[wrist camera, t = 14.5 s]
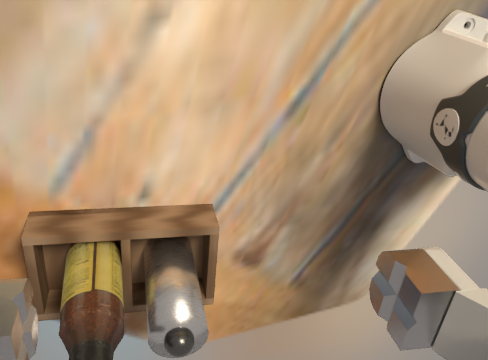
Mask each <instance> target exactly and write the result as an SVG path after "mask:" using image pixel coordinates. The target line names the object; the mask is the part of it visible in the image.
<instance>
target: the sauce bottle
mask: <svg viewBox="0 0 488 360" xmlns="http://www.w3.org/2000/svg"><path fill="white" fill-rule="evenodd" d="M123 314H124V299H123V279H122V257H121V252H120V250H119V247H118V244H117V242H116V241H98V242H81V243H71V245H70V247H69V249H68V253H67V256H66V261H65V272H64V280H63V290H62V299H61V309H60V331H59V336H60V338H61V339H62V341H63V343H64V345H65V347H66V349H67V351H68V354H69V360H113V352H114V351H115V349H116V347H117V345H118V344H119V342H120V341H121V339H122V338H123V335H124V318H123Z"/></svg>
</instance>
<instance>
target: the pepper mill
mask: <svg viewBox="0 0 488 360" xmlns="http://www.w3.org/2000/svg"><path fill="white" fill-rule="evenodd" d="M144 271H145V290H146V308H147V327H148V343H149V346H150V348H151V349H152V351H153V352H155V353H156V354H158V355H160V356H163V357H167V358H179V357H184V356H187V355H190V354H192V353H194V352H196V351H197V350H198V349H200V348H201V347H202V346H203V345H204V344H205V342H206V340H207V338H208V327H207V322H206V317H205V312H204V307H203V302H202V297H201V292H200V287H199V282H198V276H197V271H196V266H195V261H194V256H193V251H192V246H191V243H190V241H189V239H188V238H187V237H186V236H182V237H165V238H150V239H149V240H148V241H147V242H146V244H145V246H144Z"/></svg>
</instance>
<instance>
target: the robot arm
mask: <svg viewBox="0 0 488 360" xmlns="http://www.w3.org/2000/svg"><path fill="white" fill-rule="evenodd" d="M466 22H467V25H466V26H465V27H464V24H465V23H466ZM380 112H381V117H382V121H383V124H384V126H385V128H386V129H387V131H388V132H389V133H390V134H391V135H392V136H393V137H394V138H395V139H396V140H397V141H399V142H400V143H401V144H402V146H403V149H404V152H405V154H406V156H407V158H408V159H409V160H411V161H412V162H414V163H421V162H427V163H428V164H430V165H431V166H433V167H434V168H436V169H437V170H439V171H441V172H442V173H444V174H445V175H447V176H450V177H454V176H455V175H458V176H459V177H460V178H461V179H462V180H464V181H466V182H467V183H470V184H471V185H473V186H475V187H476V188H479V189H481V190H485V191H488V19H486V18H483V17H480V16H477V15H474V14H471V13H468V12H465V11H462V10H455V11H453V12H452V13H450V14H449V15H448V16H447V17H446V18H445V19H444V20H443V21H442V23H441V24H440V25H439V26H438V27H437V28H436V30H435V31H433V32H432V33H431V34H429V35H428V36H426V37H424V38H423V39H421V40H419V41H418V42H416V43H415V44H413V45H412V46H411V47H410V48H409V49H407V50H406V51H405V52H404V53H403V54H402V55H401V56H400V58H399V59H398V60H397V61H396V63H395V64H394V65H393V67H392V69H391V70H390V72H389V74H388V76H387V78H386V80H385V83H384V86H383V89H382V93H381V99H380ZM376 265H377V267H378V269H379V272H378V273H377V274H376V275H375V276H374V277H373V278H372V280H371V284H370V288H369V290H370V299H371V303H372V305H373V308H374V310H375V311H376V313H377V315H378V316H380V317H382V318H383V319H385V320H386V321H388V325H387V330H388V332H389V333H390V335H391V337H392V338H393V340H394V341H395V343H396V344H397V346H398V347H399V349H400V350H411V349H420V348H430V347H432V350H434V351H435V352H436V353H438V354H439V355H440V356H442V357H443V358H444V359H446V360H488V289H486V288H484V289H480V288H479V287H478V286H477V285H476V284H475V283H474V282H473V281H472V280H471V279H470V278H469V277H468V276H467V275H466V274H465V273H464V272H463V271H462V270H461V269H460V268H459V266H458V265H457V264H456V263H455V262H454V261H453V260H452V259H451V258H450V257H449V256H448V255H447V254H446V253H445V252H444V251H443V250H442V249H440V248H438V247H428V248H418V249H409V250H397V251H385V252H382V253H381V254H380V255H379V257H378V260H377V263H376ZM32 296H33V288H32V284H31V280H30V279H29V278H22V279H4V280H0V360H29V359H30V358H31V357H32V356H33V355H34V354H35V351H36V346H37V339H38V338H37V337H38V316H37V310H36V308H35V307H34V306H32V305H31V301H32Z"/></svg>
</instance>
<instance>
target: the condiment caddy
mask: <svg viewBox="0 0 488 360" xmlns="http://www.w3.org/2000/svg"><path fill="white" fill-rule="evenodd" d="M182 236H186V237H187V238H188V239H189V241H190V243H191V246H192V251H193V256H194V261H195V266H196V271H197V276H198V282H199V287H200V292H201V297H202V302H203V305H210V304H213V302H214V289H215V276H216V263H217V250H218V238H219V225H218V221H217V218H216V215H215V211H214V208H213V205H212V204H201V205H178V206H155V207H132V208H108V209H85V210H62V211H39V212H29V215H28V218H27V222H26V225H25V228H24V231H23V234H22V237H21V241H22V246H23V252H24V257H25V263H26V268H27V274H28V278H29V279H30V280H31V284H32V288H33V296H32V301H33V306H34V307H35V308H36V310H37V316H38V321H43V320H54V319H60V309H61V299H62V290H63V280H64V272H65V261H66V256H67V253H68V249H69V247H70V245H71V243H81V242H98V241H116V242H117V244H118V247H119V250H120V252H121V257H122V279H123V299H124V313H127V312H137V311H147V308H146V290H145V271H144V246H145V244H146V242H147V241H148V240H149V239H150V238H165V237H182Z"/></svg>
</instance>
